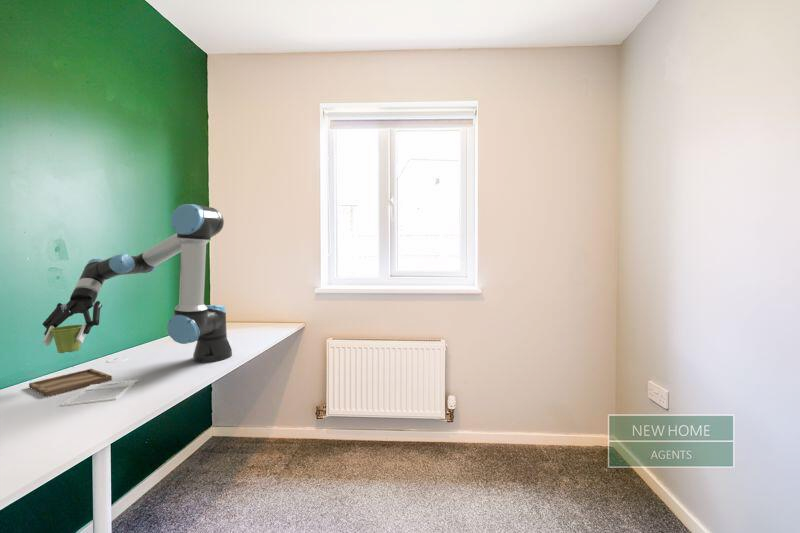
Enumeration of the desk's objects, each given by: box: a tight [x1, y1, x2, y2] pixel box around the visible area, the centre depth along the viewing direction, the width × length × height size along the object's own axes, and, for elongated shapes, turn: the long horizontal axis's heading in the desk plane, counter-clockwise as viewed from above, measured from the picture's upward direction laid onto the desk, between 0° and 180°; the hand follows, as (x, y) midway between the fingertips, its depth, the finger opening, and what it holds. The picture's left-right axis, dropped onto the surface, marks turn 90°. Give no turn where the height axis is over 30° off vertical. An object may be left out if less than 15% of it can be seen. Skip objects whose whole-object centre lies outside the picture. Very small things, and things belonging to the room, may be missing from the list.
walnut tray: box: [28, 368, 113, 398], centre depth 136 cm, size 18×18×2 cm
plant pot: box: [50, 324, 83, 354], centre depth 136 cm, size 9×9×9 cm
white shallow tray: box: [60, 379, 139, 407], centre depth 127 cm, size 15×1×18 cm
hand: (62, 342), depth 132 cm, fingers closed on plant pot, 9 cm apart
